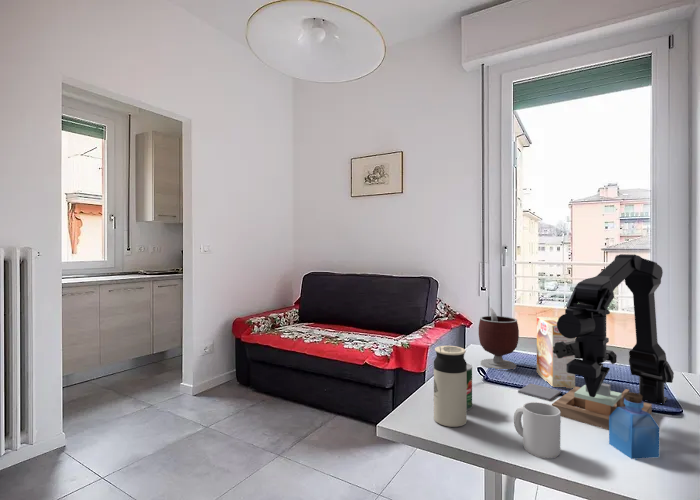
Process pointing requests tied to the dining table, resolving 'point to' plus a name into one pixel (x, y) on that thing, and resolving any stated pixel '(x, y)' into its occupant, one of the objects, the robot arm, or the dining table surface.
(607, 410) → the block
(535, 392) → the mat
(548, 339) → the coffeecake box
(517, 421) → the cup
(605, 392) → the lid
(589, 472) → the dining table surface
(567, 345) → the robot arm
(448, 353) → the travel mug
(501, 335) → the mate gourd
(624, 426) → the perfume bottle
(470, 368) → the canned tomato
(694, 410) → the dining table surface
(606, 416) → the puzzle board
